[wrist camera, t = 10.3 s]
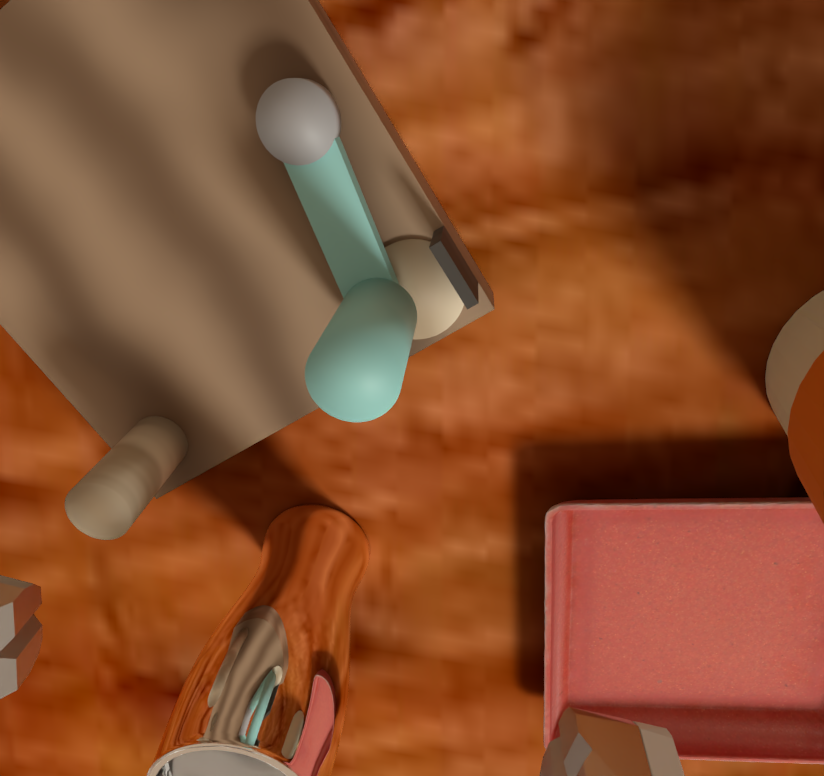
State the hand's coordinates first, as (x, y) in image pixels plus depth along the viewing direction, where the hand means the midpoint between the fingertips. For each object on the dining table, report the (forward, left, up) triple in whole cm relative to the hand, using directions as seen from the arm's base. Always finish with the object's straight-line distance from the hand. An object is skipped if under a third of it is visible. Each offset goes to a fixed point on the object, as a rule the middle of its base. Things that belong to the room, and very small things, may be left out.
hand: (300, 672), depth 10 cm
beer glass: (-13, -10, -23) cm, 29 cm away
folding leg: (-1, +4, -20) cm, 20 cm away
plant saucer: (+4, -24, -24) cm, 34 cm away
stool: (-7, +8, -23) cm, 25 cm away
